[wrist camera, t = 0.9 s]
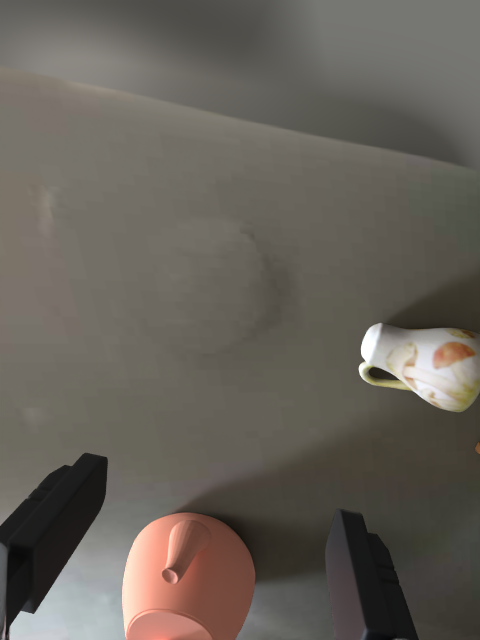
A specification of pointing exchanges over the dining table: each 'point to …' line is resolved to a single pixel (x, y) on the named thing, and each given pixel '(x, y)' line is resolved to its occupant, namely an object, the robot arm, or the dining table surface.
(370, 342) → the mug
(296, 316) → the dining table surface
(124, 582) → the teapot
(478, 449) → the walnut rack
